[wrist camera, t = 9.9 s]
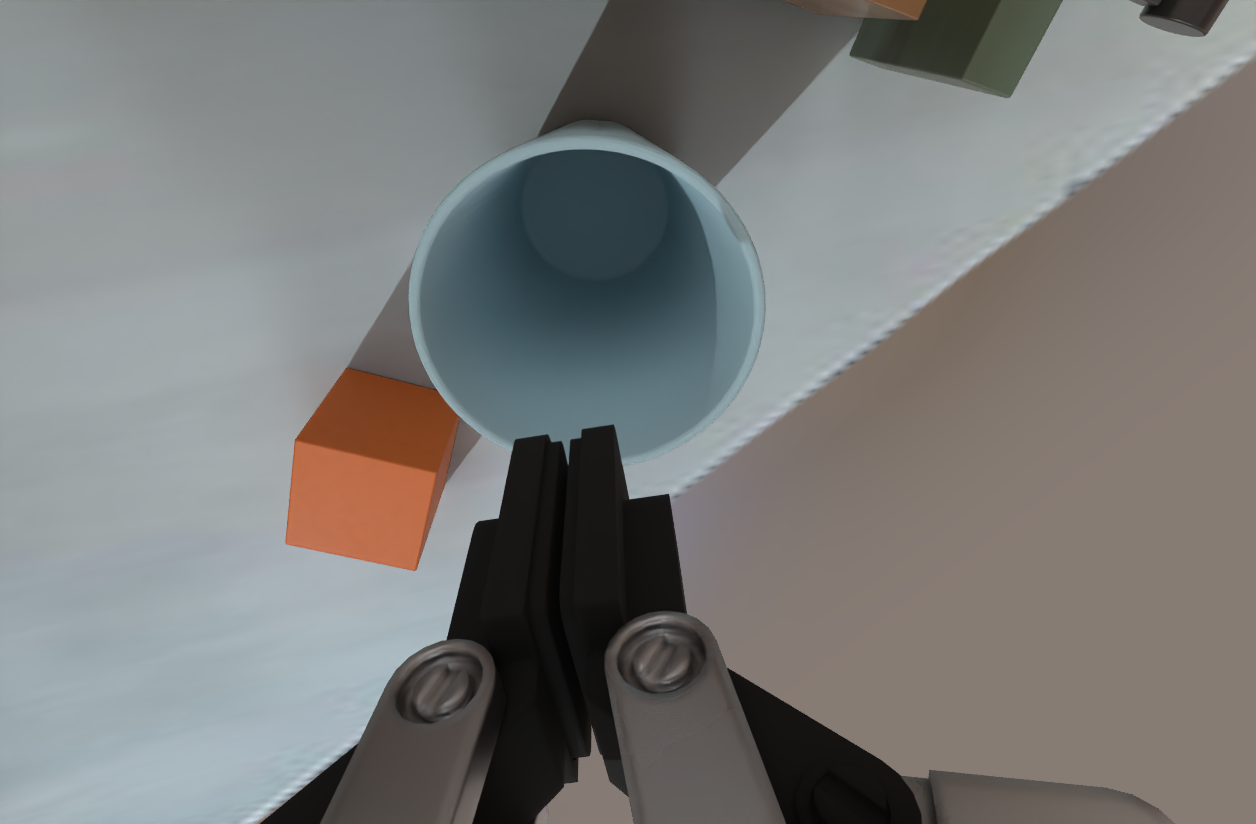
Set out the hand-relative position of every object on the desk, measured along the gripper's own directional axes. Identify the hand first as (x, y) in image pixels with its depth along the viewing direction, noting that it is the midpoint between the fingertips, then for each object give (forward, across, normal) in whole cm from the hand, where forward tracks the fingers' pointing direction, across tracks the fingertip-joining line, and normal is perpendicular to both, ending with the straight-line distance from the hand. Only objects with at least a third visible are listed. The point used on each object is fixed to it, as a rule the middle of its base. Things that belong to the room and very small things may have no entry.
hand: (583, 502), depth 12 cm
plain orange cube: (+15, +9, +6) cm, 19 cm away
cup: (+15, 0, -1) cm, 15 cm away
